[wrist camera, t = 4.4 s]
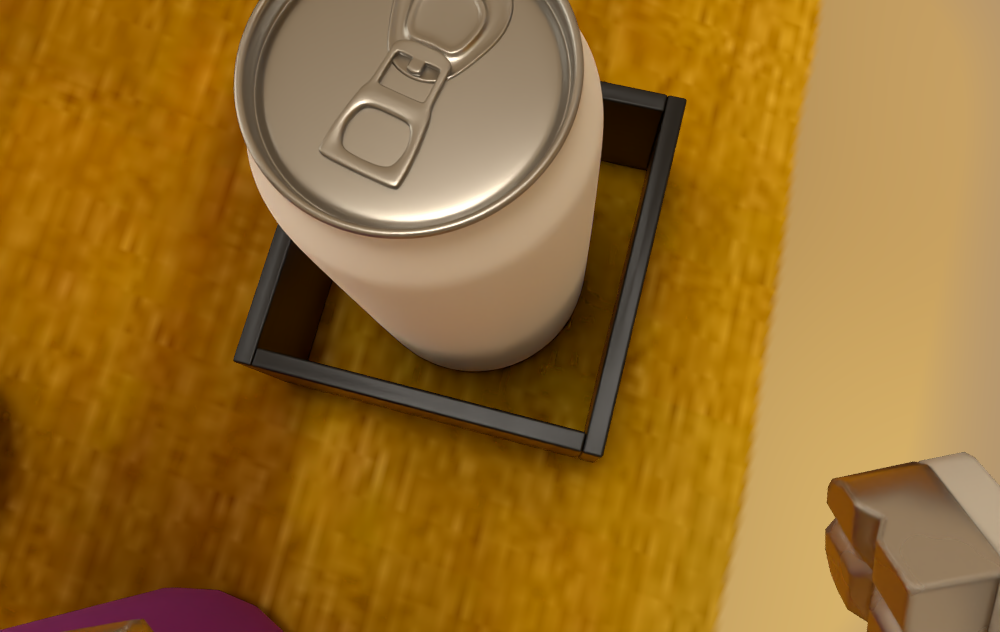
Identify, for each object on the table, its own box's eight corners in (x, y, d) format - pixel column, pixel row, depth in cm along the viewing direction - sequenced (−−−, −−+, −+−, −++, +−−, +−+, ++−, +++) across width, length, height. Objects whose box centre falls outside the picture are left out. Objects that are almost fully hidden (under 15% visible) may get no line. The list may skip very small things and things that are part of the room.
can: (621, 222, 24) (681, -23, 13) (524, 412, 23) (492, 337, 12) (435, 136, 25) (331, -164, 14) (334, 315, 24) (130, 157, 13)
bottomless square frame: (594, 462, 23) (602, 458, 19) (284, 381, 24) (231, 361, 20) (666, 159, 25) (687, 98, 21) (374, 96, 26) (342, 26, 22)
